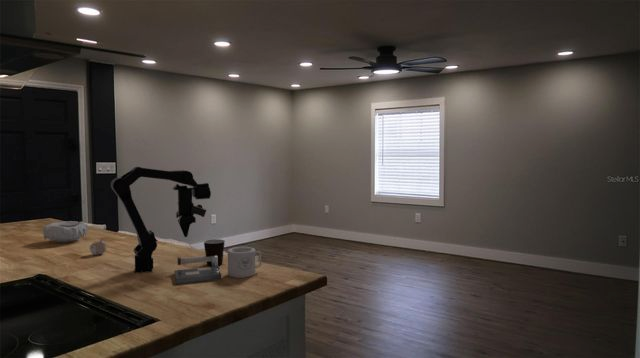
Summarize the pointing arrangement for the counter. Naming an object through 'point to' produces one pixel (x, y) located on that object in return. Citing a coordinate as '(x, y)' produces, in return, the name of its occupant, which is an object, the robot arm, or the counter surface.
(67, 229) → the bowl
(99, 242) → the garlic bulb
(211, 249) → the coffee mug
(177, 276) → the chassis
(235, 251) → the mug
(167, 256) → the counter surface
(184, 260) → the cable arm
